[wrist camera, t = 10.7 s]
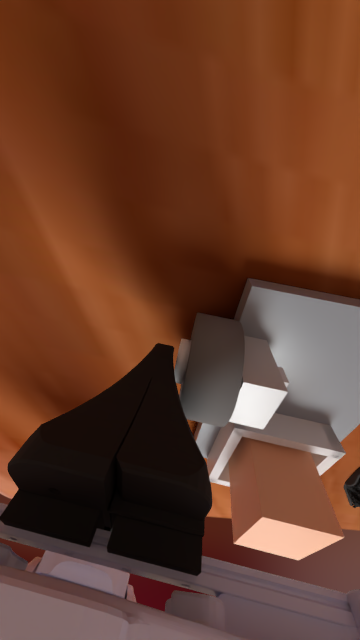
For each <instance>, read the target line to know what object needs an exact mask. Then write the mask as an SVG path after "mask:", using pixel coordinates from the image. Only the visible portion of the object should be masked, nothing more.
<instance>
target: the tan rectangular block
mask: <svg viewBox="0 0 360 640" xmlns="http://www.w3.org/2000/svg"><path fill="white" fill-rule="evenodd" d="M228 463H229V478H230V494H231V510H232V524H233V525H232V526H233V541H234V544H238V545H242V546H245V547H249V548H253V549H257V550H261V551H265V552H269V553H273V554H276V555H280V556H284V557H288V558H292V559H296V560H300V559H302V558H304V557H306V556H308V555H310V554H312V553H314V552H316V551H318V550H320V549H322V548H324V547H326V546H328V545H330V544H332V543H334V542H336V541H338V540H341V539H343V538H344V535H343V533H342V530H341V527H340V525H339V522H338V520H337V518H336V515H335V513H334V510H333V508H332V505H331V503H330V500H329V498H328V495H327V493H326V490H325V488H324V485H323V483H322V480H321V478H320V475H319V473H318V470H317V468H316V465H315V463H314V460H313V458H312V455H311V453H310V452H306V451H302V450H298V449H294V448H289V447H285V446H281V445H276V444H272V443H268V442H263V441H259V440H255V439H251V438H246V437H242V438H241V439H240V441H239V443H238V445H237V446H236V448H235V450H234V452H233V453H232V455H231V457H230V459H229V460H228Z"/></svg>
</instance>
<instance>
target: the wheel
mask: <svg viewBox="0 0 360 640" xmlns="http://www.w3.org/2000/svg"><path fill="white" fill-rule="evenodd" d="M244 355H245V339H244V331H243V327H242V324H241V322H239V321H237V320H232V319H227V318H222V317H217V316H213V315H208V314H203V313H198V312H197V314H196V318H195V322H194V326H193V330H192V335H191V339H190V340H188V339H183V338H182V339H181V343H180V347H179V351H178V356H177V361H176V365H175V370H174V375H175V381H176V383H179V384H181V389H180V394H179V398H180V401H181V405H182V408H183V411H184V414H185V416H186V419H188V420H193V421H197V422H201V423H206V424H210V425H214V426H219V427H224V426H225V425H227V423H228V422H229V420H230V418H231V416H232V414H233V411H234V409H235V406H236V402H237V399H238V395H239V391H240V386H241V381H242V375H243V367H244ZM278 369H279V371H280V374H281V376H282V379H283V381H284V383H285V386H286V388H287V386H288V384H289V381H288V379H287V377H286V374H285V372H284V370H283V368H282V367H278Z"/></svg>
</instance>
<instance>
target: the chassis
mask: <svg viewBox="0 0 360 640" xmlns="http://www.w3.org/2000/svg"><path fill="white" fill-rule="evenodd" d="M234 320H237V321H239V322H241V324H242V327H243V331H244V339H245V355H244V367H243V375H242V381H241V386H240V391H239V395H238V399H237V402H236V406H235V409H234V411H233V414H232V416H231V418H230V420H229V422H228V423H227V425H225V426H224V427H219V426H214V425H210V424H206V423H201V422H198V425H197V428H196V431H195V434H194V436H193V437H194V439H195V441H196V443H197V445H198V447H199V450H200V452H201V454H202V456H203V457H204V458H207V469H208V474H209V479H210V482H213V483H217V484H221V485H225V486H229V487H230V478H229V463H228V460H229V459H230V457H231V455H232V453H233V452H234V450H235V448H236V446H237V445H238V443H239V441H240V439H241V438H242V437H246V438H251V439H255V440H259V441H263V442H268V443H272V444H276V445H281V446H285V447H289V448H294V449H298V450H302V451H306V452H310V453H311V455H312V458H313V460H314V463H315V465H316V468H317V470H318V473H319V475H322V474H323V473H324V472H325V471H326V470H327V469H328V468H330V467H331V466H332V465H333V464H334V463H335V462H337V461H338V460H339V459H340V458H341V457H342V456H344V455H345V454H346V453H345V451H344V449H343V447H342V445H341V443H340V442H341V441H342V440H343V439H344V438H345V437H346V436H347V435H348V434H349V433H350V432H351V431H352V430H354V429H355V428H356V427H357V426H358V425H359V424H360V299H355V298H349V297H344V296H339V295H334V294H329V293H324V292H319V291H313V290H308V289H303V288H298V287H293V286H288V285H283V284H277V283H272V282H267V281H262V280H257V279H252V278H248V279H247V282H246V285H245V288H244V291H243V294H242V296H241V299H240V302H239V305H238V308H237V311H236V314H235V317H234ZM278 367H282V368H283V370H284V372H285V374H286V377H287V379H288V381H289V384H288V386H287V388H286V386H285V383H284V381H283V379H282V376H281V374H280V371H279V369H278Z"/></svg>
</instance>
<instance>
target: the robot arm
mask: <svg viewBox="0 0 360 640" xmlns="http://www.w3.org/2000/svg"><path fill="white" fill-rule="evenodd" d="M173 352H174V347H173V346H169V345H164V344H160V343H158V344H156V345H155V347H154V348H153V349H152V350H151V351H150V352H149V354H148V355H147V356H146V357H145V358H144V359H143V360H142V361H141V362H140V363H139V364H138V365H137V366H136V367H134V368H133V369H132V370H131V371H130V372H129V373H128V374H126V375H125V376H124V377H123V378H122V379H120V380H119V381H118V382H116V383H115V384H114V385H112V386H111V387H109V388H108V389H106V390H105V391H103V392H102V393H100V394H99V395H97V396H96V397H94V398H92V399H91V400H89V401H87V402H85V403H84V404H82V405H80V406H78V407H76V408H75V409H73V410H71V411H69V412H67V413H65V414H63V415H61V416H59V417H56V418H54V419H52V420H50V421H48V422H46V423H44V424H41V426H40V427H39V428H38V429H37V430H36V431H35V432H34V433H33V434H32V435H31V436H30V437H29V438H28V440H27V441H26V442H25V443H24V444H23V446H22V447H21V448H20V449H19V451H18V452H17V453H16V454H15V456H14V457H13V458H12V459H11V461H10V462H9V463H8V472H9V474H10V476H11V478H12V479H13V481H14V482H15V484H16V485H17V487H18V488H19V490H18V491H17V493H16V494H15V496H14V497H13V498H12V500H11V501H10V503H9V504H8V505H6V504H3V503H0V538H3V539H7V540H10V541H14V542H18V543H21V544H25V545H29V546H32V547H36V548H40V549H43V550H46V551H45V553H44V555H43V557H42V558H40V557H36V558H34V559H33V560H32V562H30V563H29V564H28V563H27V561H26V560H24V559H23V558H21V557H19V556H18V555H16V554H15V553H14V552H13V551H12V550H11V547H10V546H7V545H5V544H2V543H0V640H360V589H357V590H351V591H349V592H348V593H347V594H346V593H342V592H338V591H335V590H331V589H327V588H323V587H319V586H316V585H312V584H308V583H304V582H300V581H297V580H293V579H289V578H285V577H281V576H277V575H274V574H270V573H266V572H262V571H259V570H254V569H251V568H247V567H243V566H239V565H235V564H232V563H228V562H224V561H220V560H217V559H213V558H209V557H205V556H202V537H203V536H204V519H205V517H206V516H207V514H208V512H209V511H210V509H211V507H212V492H211V484H210V479H209V474H208V469H207V465H206V462H205V460H204V458H203V456H202V454H201V452H200V450H199V447H198V445H197V443H196V441H195V439H194V437H193V434H192V432H191V430H190V427H189V424H188V422H187V419H186V416H185V414H184V411H183V408H182V405H181V401H180V398H179V394H178V390H177V386H176V381H175V375H174V367H173ZM127 572H129V573H132V574H136V575H140V576H143V577H147V578H151V579H154V580H158V581H162V582H166V583H169V584H173V585H176V586H180V587H184V588H188V589H191V590H195V591H198V592H202V593H206V594H210V595H213V596H216V597H213V596H209V595H204V594H197V593H190V592H183V591H174V592H173V593H172V597H171V599H168V600H167V602H166V606H165V612H163V611H160V610H157V609H154V608H151V607H148V606H145V605H142V604H138V603H136V600H135V596H134V593H133V592H134V591H133V587H132V585H128V580H129V575H130V574H129V573H127Z"/></svg>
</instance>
